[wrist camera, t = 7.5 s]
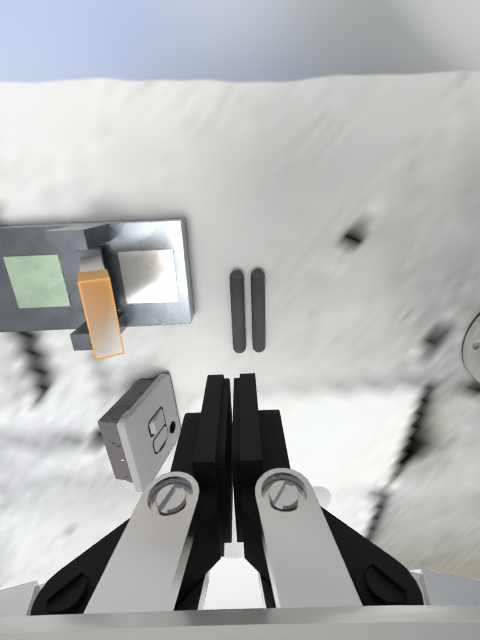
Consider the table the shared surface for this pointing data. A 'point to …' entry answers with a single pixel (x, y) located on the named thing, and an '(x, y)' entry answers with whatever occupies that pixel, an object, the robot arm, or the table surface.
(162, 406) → the electrical switch
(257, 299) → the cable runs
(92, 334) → the breaker lever
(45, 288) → the double window frame
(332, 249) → the table surface
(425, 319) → the table surface
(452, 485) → the table surface
